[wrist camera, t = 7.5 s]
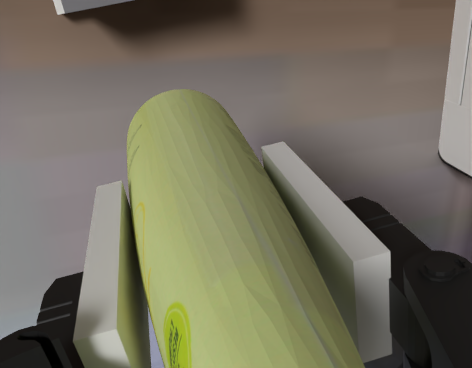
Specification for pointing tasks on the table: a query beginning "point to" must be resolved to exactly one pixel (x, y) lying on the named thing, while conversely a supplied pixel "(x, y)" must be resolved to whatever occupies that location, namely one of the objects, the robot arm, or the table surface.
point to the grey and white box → (81, 4)
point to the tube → (223, 248)
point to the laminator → (459, 95)
